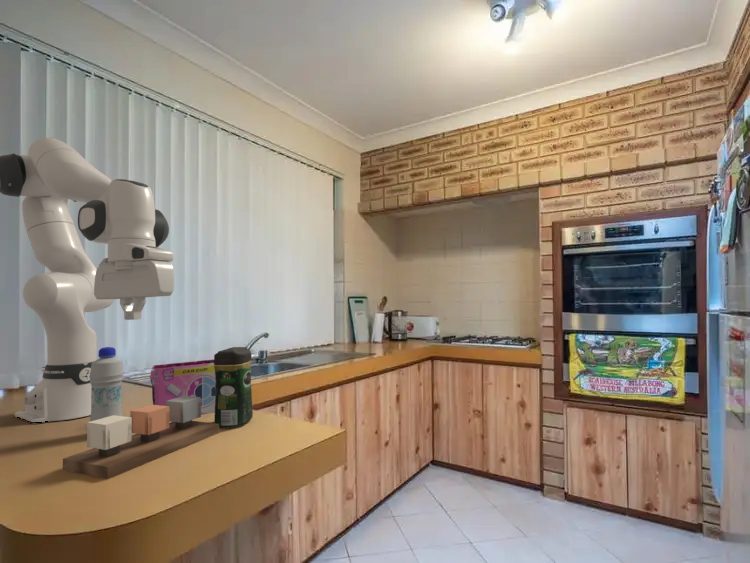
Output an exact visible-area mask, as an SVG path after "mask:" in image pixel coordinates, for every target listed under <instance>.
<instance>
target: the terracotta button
mask: <svg viewBox="0 0 750 563" xmlns="http://www.w3.org/2000/svg"><path fill="white" fill-rule="evenodd" d="M129 417H132V434H143V435H150V434H153V433H156V432H159V431H162V430H164V429H167V428H169V423H170V421H169V406H160V405H153V404H150V405H147V406H142V407H138V408H136V409H132V410H130V416H129Z"/></svg>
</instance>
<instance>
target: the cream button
mask: <svg viewBox="0 0 750 563" xmlns="http://www.w3.org/2000/svg"><path fill="white" fill-rule="evenodd" d="M86 424H87V425H86V426H87V428H86V447H87V448H90V449H93V448H97V449H103V450H107V449H110V448H113V447H116V446H118V445H121V444H124V443H127V442H130V441H132V435H133V433H132V417H130V416H124V415H122V416H116V415H113V416H109V417H105V418H102V419H98V420H94V421H91V422H90V421H88V422H87V423H86Z"/></svg>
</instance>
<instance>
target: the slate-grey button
mask: <svg viewBox="0 0 750 563" xmlns="http://www.w3.org/2000/svg"><path fill="white" fill-rule="evenodd" d="M166 406H169V423H171V422H178V423H185V422H187V421H190V420H192V421H194V420H195V419H199V418H201V417H202V414H201V397H191V396H182V397H179V398H175V399H171V400H168V401H166Z"/></svg>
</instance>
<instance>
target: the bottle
mask: <svg viewBox="0 0 750 563" xmlns="http://www.w3.org/2000/svg"><path fill="white" fill-rule="evenodd" d="M116 354H117V351H116V348H115V347H111V346H106V347H102V348H100V349H99V350H98V354H97V356H98V358H97V360H96V361H94V362H92V365H91V371H90V376H89V377H90V383H91V415H90V418H89V422H91V421H94V420H98V419H102V418H105V417H109V416H113V415H116V416H123V410H122V408H123V407H122V403H123V402H122V399H123V398H122V397H123V396H122V395H123V394H122V391H123V390H122V389H123V388H122V386H123V383H122V382H123V381H124V368H123V361H122V359H120V358H117V357H116V356H117V355H116Z"/></svg>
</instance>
